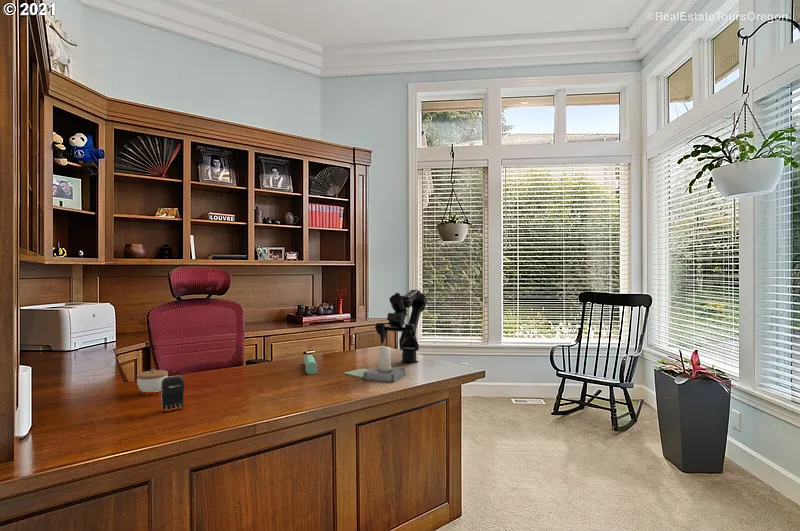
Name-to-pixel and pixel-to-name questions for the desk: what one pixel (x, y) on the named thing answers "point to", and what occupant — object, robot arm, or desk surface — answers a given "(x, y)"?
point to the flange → (384, 374)
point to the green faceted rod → (310, 364)
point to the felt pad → (357, 372)
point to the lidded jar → (151, 380)
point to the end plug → (384, 359)
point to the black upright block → (172, 392)
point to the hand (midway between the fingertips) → (390, 344)
